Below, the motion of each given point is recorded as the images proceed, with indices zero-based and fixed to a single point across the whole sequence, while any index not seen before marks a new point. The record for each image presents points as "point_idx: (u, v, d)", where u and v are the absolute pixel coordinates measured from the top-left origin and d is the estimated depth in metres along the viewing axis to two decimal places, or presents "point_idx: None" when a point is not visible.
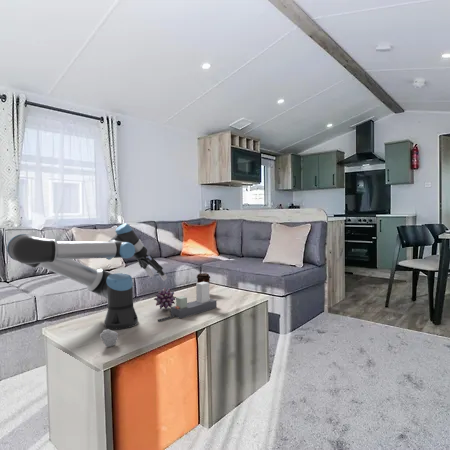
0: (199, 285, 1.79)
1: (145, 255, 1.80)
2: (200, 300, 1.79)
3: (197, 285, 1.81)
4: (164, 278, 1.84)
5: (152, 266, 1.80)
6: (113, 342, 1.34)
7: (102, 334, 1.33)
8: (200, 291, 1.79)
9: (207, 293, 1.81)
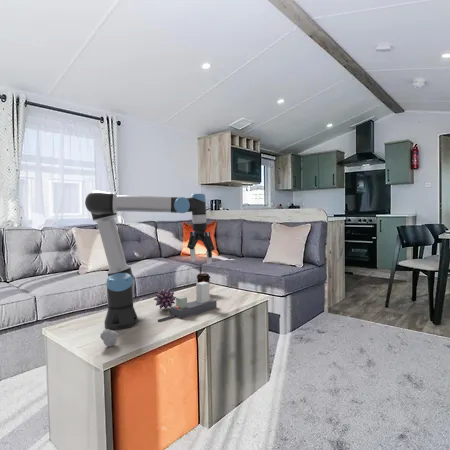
0: (199, 285, 1.79)
1: (204, 230, 1.77)
2: (200, 300, 1.79)
3: (197, 285, 1.81)
4: (209, 261, 1.76)
5: (205, 243, 1.76)
6: (113, 342, 1.34)
7: (102, 334, 1.33)
8: (200, 291, 1.79)
9: (207, 293, 1.81)
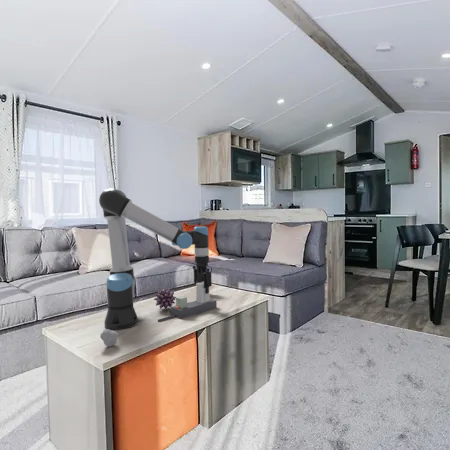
0: (199, 285, 1.79)
1: (206, 263, 1.78)
2: (200, 300, 1.79)
3: (197, 285, 1.81)
4: (206, 297, 1.79)
5: (204, 279, 1.78)
6: (113, 342, 1.34)
7: (102, 334, 1.33)
8: (200, 291, 1.79)
9: None
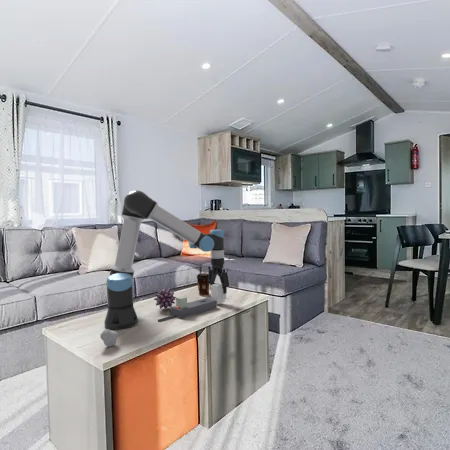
0: (215, 286, 1.87)
1: (222, 265, 1.86)
2: (216, 301, 1.87)
3: (213, 286, 1.88)
4: (223, 297, 1.85)
5: (221, 279, 1.85)
6: (113, 342, 1.34)
7: (102, 334, 1.33)
8: (216, 292, 1.87)
9: None
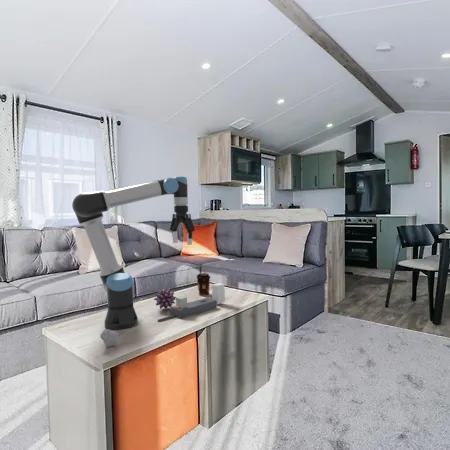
0: (215, 286, 1.87)
1: (185, 212, 1.83)
2: (216, 301, 1.87)
3: (213, 286, 1.88)
4: (189, 242, 1.81)
5: (185, 225, 1.81)
6: (113, 342, 1.34)
7: (102, 334, 1.33)
8: (216, 292, 1.87)
9: (222, 294, 1.88)
